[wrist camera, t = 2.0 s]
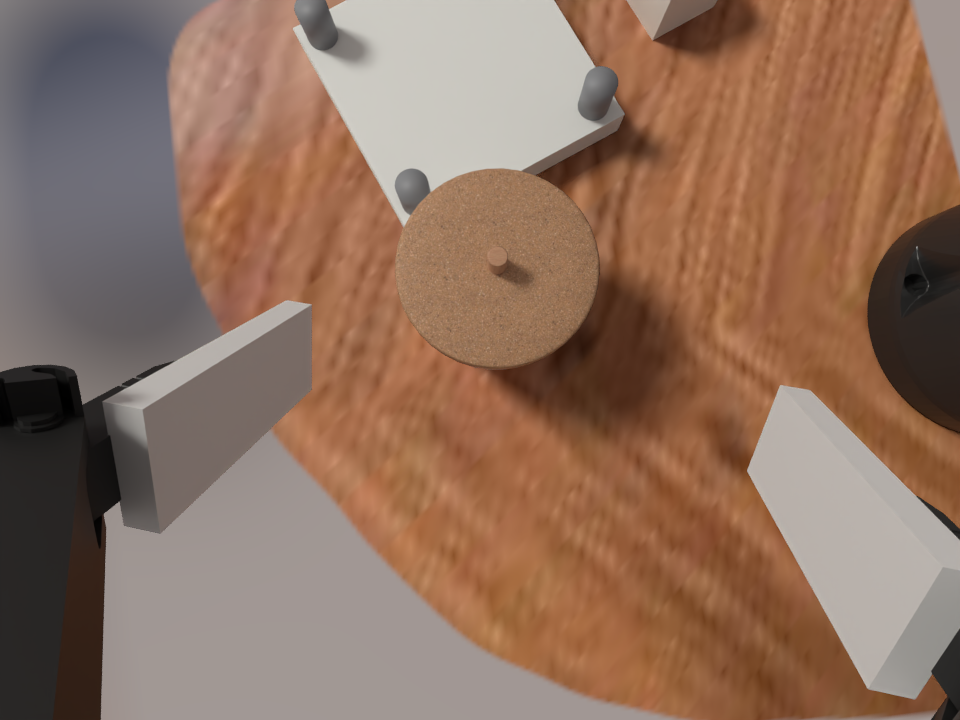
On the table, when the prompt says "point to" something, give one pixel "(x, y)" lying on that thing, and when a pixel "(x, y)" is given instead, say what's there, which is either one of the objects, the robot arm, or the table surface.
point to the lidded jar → (497, 268)
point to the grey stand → (456, 87)
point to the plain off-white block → (667, 13)
